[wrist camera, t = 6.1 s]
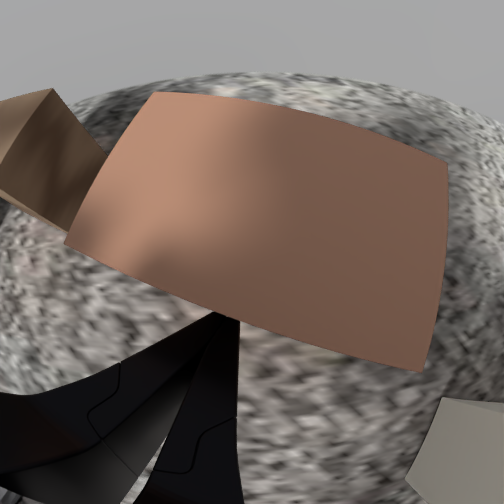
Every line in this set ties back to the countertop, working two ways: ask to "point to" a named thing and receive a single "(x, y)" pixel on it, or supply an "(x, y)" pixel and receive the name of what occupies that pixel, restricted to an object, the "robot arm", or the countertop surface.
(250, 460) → the countertop surface
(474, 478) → the cream block
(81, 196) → the walnut block
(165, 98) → the terracotta block
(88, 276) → the countertop surface
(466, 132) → the countertop surface
